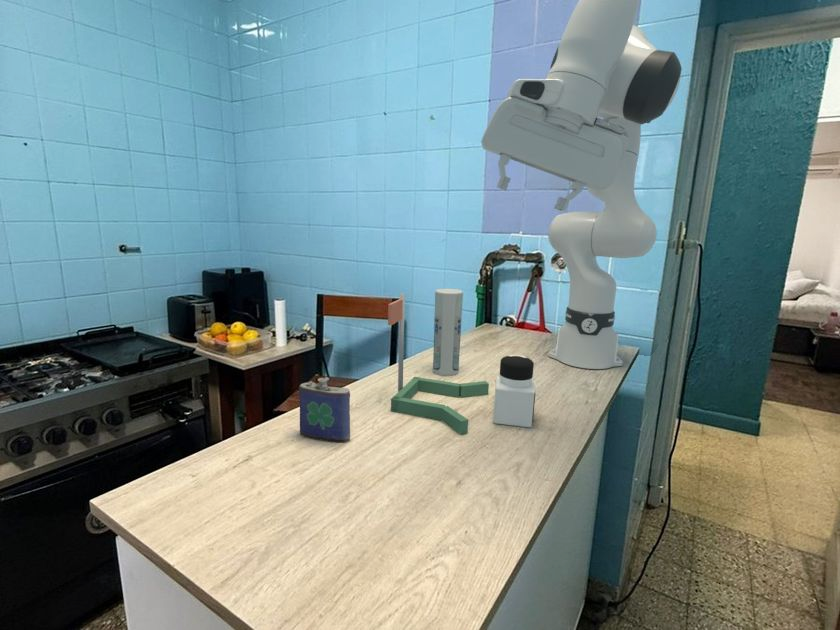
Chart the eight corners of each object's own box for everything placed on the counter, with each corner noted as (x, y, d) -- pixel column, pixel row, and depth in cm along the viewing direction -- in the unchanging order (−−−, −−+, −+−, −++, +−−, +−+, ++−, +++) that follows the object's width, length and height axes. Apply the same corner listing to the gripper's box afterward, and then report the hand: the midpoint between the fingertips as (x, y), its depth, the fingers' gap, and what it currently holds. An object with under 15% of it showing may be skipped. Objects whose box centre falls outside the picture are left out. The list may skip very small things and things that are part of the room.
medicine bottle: (532, 428, 81) (538, 366, 78) (492, 423, 82) (497, 362, 79) (530, 411, 87) (536, 353, 85) (494, 407, 89) (498, 350, 86)
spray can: (432, 366, 112) (435, 288, 107) (458, 367, 111) (462, 288, 107) (432, 375, 105) (435, 292, 101) (459, 376, 105) (463, 293, 100)
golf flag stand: (415, 380, 102) (417, 286, 97) (489, 392, 96) (495, 292, 91) (376, 418, 83) (377, 303, 78) (466, 435, 77) (472, 312, 72)
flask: (352, 437, 76) (352, 378, 73) (345, 445, 73) (344, 384, 71) (304, 428, 78) (302, 371, 76) (295, 436, 76) (293, 377, 73)
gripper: (626, 135, 67) (588, 222, 71) (500, 89, 67) (467, 178, 70) (643, 127, 61) (600, 223, 64) (505, 76, 61) (468, 174, 64)
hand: (530, 199), depth 67 cm, fingers open, 8 cm apart
